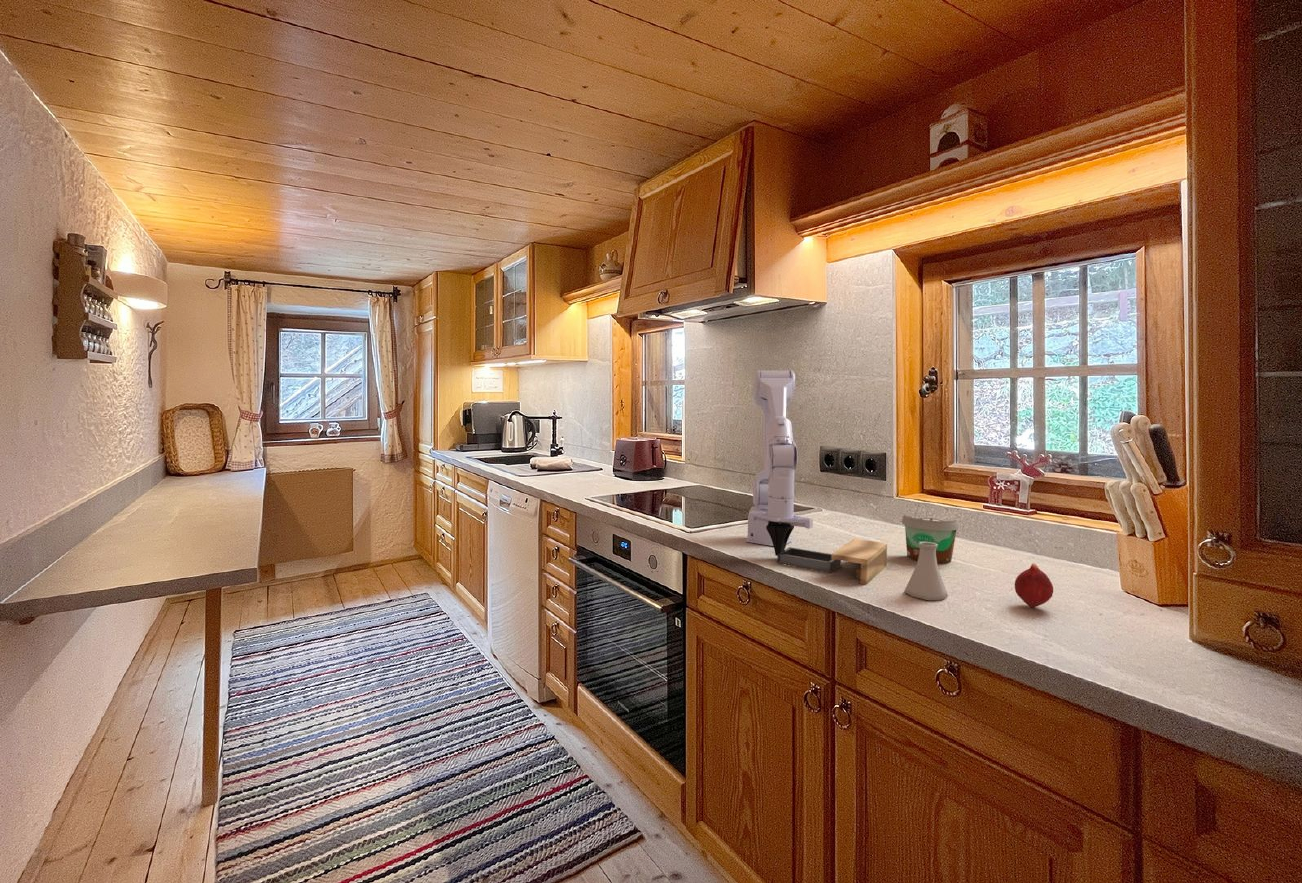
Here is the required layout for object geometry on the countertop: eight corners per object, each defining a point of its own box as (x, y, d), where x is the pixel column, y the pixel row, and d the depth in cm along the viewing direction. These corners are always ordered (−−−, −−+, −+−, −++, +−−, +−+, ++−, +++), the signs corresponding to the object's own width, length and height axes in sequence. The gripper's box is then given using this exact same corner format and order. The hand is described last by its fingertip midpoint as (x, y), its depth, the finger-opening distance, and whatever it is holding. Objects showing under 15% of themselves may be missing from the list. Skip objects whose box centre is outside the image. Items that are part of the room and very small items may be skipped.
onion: (1059, 611, 105) (1062, 567, 105) (1034, 614, 104) (1037, 569, 103) (1030, 600, 111) (1032, 558, 110) (1005, 603, 109) (1008, 560, 109)
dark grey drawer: (777, 564, 134) (777, 553, 134) (789, 557, 140) (789, 547, 140) (830, 574, 127) (830, 563, 127) (840, 566, 133) (840, 555, 133)
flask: (929, 604, 109) (932, 550, 108) (896, 592, 115) (898, 541, 114) (955, 598, 112) (958, 545, 111) (922, 586, 119) (924, 537, 118)
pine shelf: (830, 578, 124) (831, 554, 123) (853, 560, 137) (854, 538, 136) (866, 584, 120) (867, 559, 119) (886, 565, 133) (887, 543, 132)
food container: (897, 561, 137) (899, 518, 136) (900, 554, 142) (902, 513, 141) (958, 568, 131) (960, 523, 130) (958, 561, 136) (960, 518, 135)
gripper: (744, 495, 137) (743, 553, 138) (805, 502, 129) (803, 564, 130) (757, 491, 143) (756, 547, 144) (816, 498, 135) (815, 557, 136)
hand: (779, 555), depth 137 cm, fingers closed
